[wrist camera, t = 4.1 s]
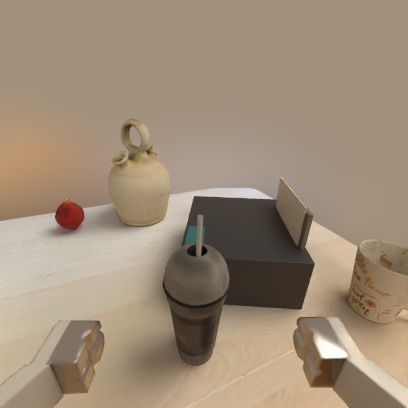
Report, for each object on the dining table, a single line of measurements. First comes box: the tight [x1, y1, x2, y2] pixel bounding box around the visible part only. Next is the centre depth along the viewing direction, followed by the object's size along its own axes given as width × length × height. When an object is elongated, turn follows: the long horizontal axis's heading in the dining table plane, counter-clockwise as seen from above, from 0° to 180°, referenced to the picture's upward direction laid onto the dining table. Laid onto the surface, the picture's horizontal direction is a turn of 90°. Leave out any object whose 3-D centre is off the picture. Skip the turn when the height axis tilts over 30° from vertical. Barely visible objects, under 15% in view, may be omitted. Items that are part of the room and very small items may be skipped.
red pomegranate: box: [55, 199, 84, 230], centre depth 52 cm, size 6×6×8 cm
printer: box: [181, 177, 315, 309], centre depth 42 cm, size 19×22×16 cm
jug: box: [108, 119, 171, 226], centre depth 56 cm, size 15×16×25 cm
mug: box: [348, 240, 408, 324], centre depth 33 cm, size 8×13×10 cm, turn 73°
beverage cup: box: [163, 215, 230, 366], centre depth 25 cm, size 7×7×20 cm
